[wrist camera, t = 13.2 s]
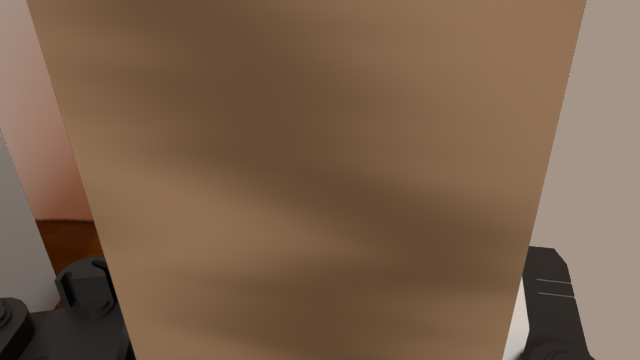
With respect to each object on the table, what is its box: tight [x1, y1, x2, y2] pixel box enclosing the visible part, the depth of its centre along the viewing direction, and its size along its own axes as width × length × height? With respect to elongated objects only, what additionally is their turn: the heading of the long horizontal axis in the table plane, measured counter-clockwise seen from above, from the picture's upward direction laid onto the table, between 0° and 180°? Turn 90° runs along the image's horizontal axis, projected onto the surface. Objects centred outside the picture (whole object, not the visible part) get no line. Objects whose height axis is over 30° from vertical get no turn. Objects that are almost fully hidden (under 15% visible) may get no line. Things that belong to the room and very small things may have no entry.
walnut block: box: [26, 0, 586, 360], centre depth 13 cm, size 6×6×18 cm
